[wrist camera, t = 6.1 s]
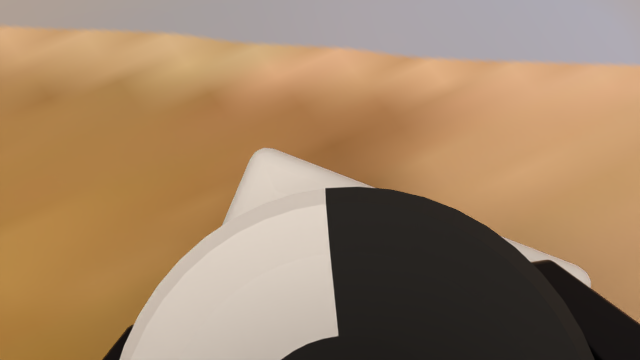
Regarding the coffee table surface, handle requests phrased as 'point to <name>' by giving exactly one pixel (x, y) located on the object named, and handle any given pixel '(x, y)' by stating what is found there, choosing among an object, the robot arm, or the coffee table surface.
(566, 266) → the medicine bottle
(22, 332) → the coffee table surface
